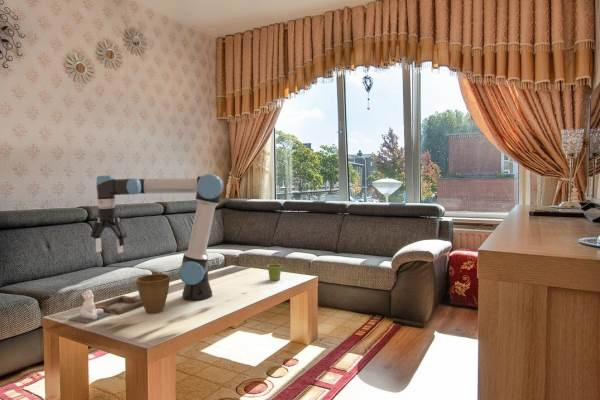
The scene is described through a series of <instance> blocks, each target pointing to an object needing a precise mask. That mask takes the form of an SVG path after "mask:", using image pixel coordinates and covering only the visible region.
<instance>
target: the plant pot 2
mask: <svg viewBox="0 0 600 400" xmlns="http://www.w3.org/2000/svg"><path fill="white" fill-rule="evenodd" d="M282 267H283V265H282V264H280V263H273V264H271V263H270V264H267V265H266V268H267V271H268V278H269V280H270V281H272V282H274V281H277V282H278V281H280V280H281V274H282V273H281V271H282Z"/></svg>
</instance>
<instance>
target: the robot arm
mask: <svg viewBox="0 0 600 400" xmlns="http://www.w3.org/2000/svg"><path fill="white" fill-rule="evenodd" d="M224 189H225V182H224V180H223V179H222V177H221V176H219V174H214V173H206V174H204V175H202V176H199V175H197V176H196V177H195V178H193V177H192V178H190V177H189V178H134V177H133V178H132V177H131V178H119V179H117V178H114V175H112V174H111V175H98V176H96V194H97V197H96V198H97V207H98V210H97V212H98V213H97V214H98V216H99V217H96V218H94V224H93V228H92V230H91V232H90V238H93V239H94V245H95V253H100V252H102V249H103V247H102V238H101V236H102V234H103V232H104V230H105V228H110V229H111V230H112V231H113V233H114V234H115V236H116V237H117V239H116V244H117V248H116V249H117V253H118V254H120V253H121V254H122V253H124V245H125V244H124V240H125V239H124V238H127V237H128V235H127V232H126V230H125V228H124V225H123V224H122V221H121V220H122V219H121V217H115V216H116V215H117V211H116V208H115V207H116V196H118V195H119V196H120V195H121V196H123V195H125V196H126V195H131V196H133V195H134V196H135V195H140V194H141V195H143V194H144V195H145V194H196V195H195V201H196V203H197V206H196V210H195V215H194V220H193V224H192V230H191V235H190V238H189V244H188V248H187V251H186V252H184V253H183V257H182V261H181V265H180V266H179V269H178V275H179V278H180V280H181V281H182V282H183V283H184V286H183V291H182V296H181V298H182V299H183V300H186V301H200V300H201V301H202V300H206V299H209V298H212V296H213V290H212V287H211V285H210V282H209V257H208V253H207V248H208V243H209V239H210V235H211V230H212V229H211V228H212V224H213V221H214V215H215V211H216V207H217V206H218V205H219V204H220V202H221V197H222V193H223V192H224Z"/></svg>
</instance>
